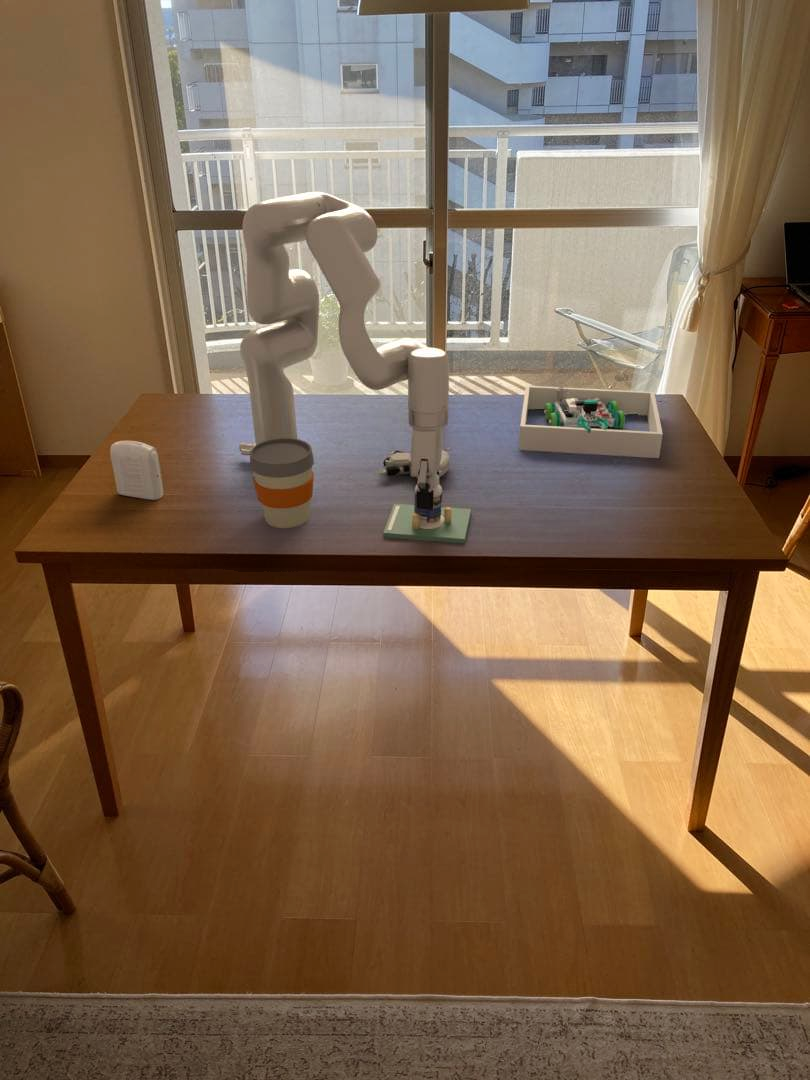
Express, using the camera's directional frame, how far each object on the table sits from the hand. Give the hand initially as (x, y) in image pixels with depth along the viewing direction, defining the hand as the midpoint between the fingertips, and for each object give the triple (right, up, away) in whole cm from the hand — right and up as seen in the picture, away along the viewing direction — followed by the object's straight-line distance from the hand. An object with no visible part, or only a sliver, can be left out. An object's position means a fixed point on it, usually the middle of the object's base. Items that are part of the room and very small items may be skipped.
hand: (428, 498), depth 172 cm
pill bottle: (0, -4, +3) cm, 5 cm away
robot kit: (+40, +18, +41) cm, 60 cm away
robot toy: (-2, +6, +23) cm, 24 cm away
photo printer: (-61, +1, +16) cm, 63 cm away
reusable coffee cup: (-29, -4, +7) cm, 30 cm away
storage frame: (+40, +18, +41) cm, 61 cm away
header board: (0, -5, +3) cm, 6 cm away
